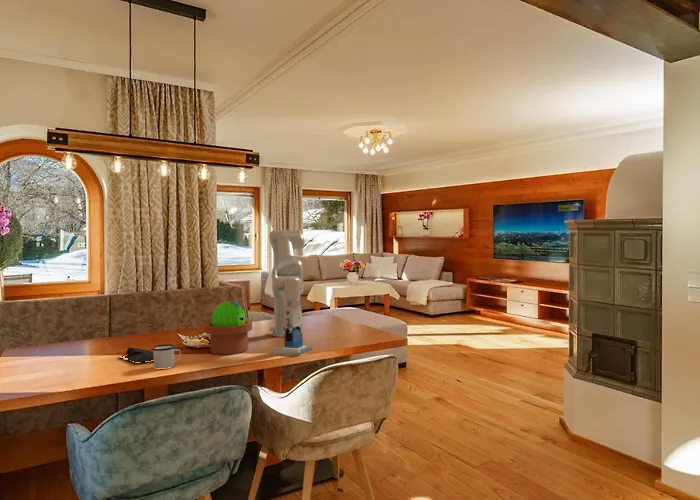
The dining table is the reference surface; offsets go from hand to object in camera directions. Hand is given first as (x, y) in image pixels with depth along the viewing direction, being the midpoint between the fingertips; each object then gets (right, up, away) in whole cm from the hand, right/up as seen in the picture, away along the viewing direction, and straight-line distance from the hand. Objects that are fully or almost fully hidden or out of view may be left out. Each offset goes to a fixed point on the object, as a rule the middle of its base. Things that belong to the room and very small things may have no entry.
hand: (293, 339), depth 229 cm
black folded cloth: (-70, -8, -8) cm, 71 cm away
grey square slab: (0, -6, -1) cm, 6 cm away
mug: (-52, -8, -23) cm, 58 cm away
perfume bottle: (0, -4, 0) cm, 4 cm away
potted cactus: (-32, -7, +4) cm, 33 cm away
